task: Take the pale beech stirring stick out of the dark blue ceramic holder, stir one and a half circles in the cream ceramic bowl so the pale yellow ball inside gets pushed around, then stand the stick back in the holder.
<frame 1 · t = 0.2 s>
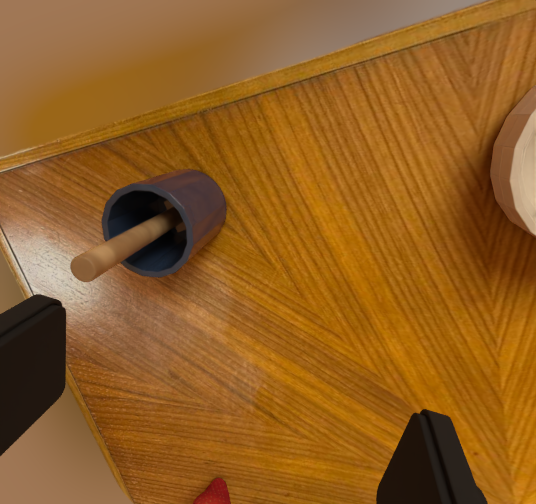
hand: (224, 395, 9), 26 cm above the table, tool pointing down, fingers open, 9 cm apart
stirring stick: (188, 208, 36), resting on holder
holder: (190, 207, 36), on the table
fruit: (222, 480, 48), on the table
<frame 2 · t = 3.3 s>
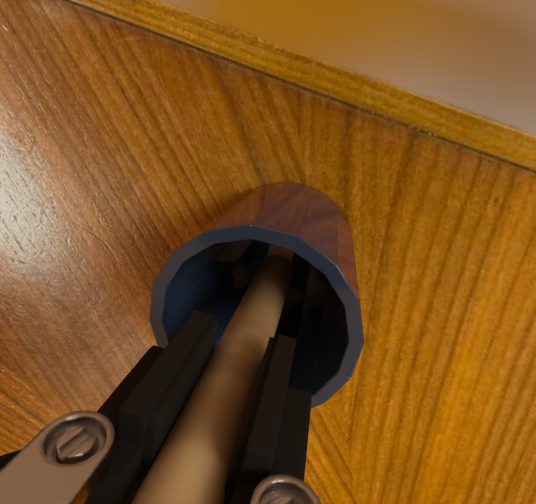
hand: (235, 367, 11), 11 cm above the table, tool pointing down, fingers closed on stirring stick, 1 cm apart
stirring stick: (284, 249, 20), point 1 cm above the table, touching gripper, holder
holder: (286, 246, 21), on the table
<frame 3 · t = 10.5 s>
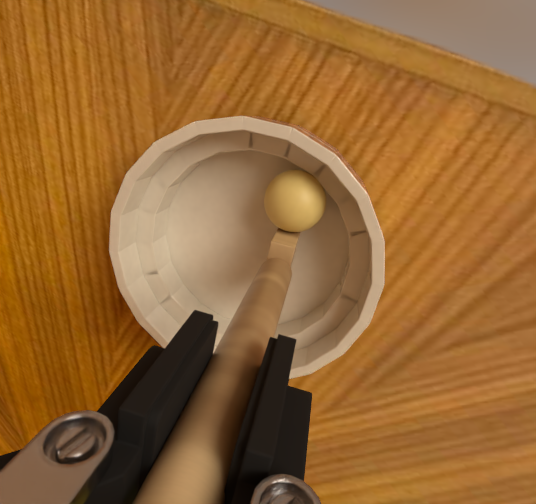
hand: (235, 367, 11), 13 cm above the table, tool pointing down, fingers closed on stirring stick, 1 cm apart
stirring stick: (284, 252, 20), point 2 cm above the table, touching ball, gripper
bowl: (256, 239, 23), on the table
ball: (294, 201, 19), point 2 cm above the table, tilted 67°, touching bowl, stirring stick
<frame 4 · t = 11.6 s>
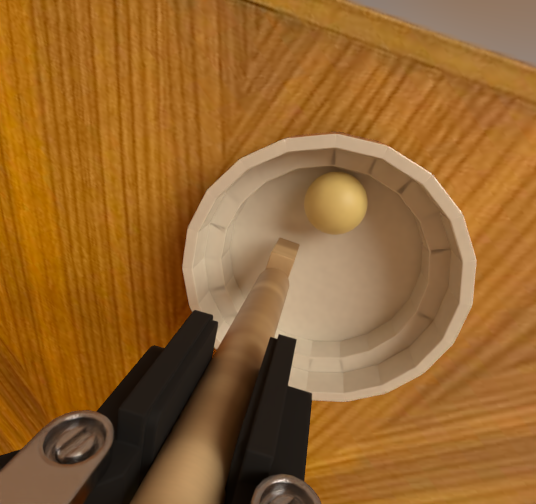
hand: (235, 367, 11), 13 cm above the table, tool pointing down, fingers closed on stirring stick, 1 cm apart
stirring stick: (281, 264, 21), point 2 cm above the table, touching gripper
bowl: (322, 254, 22), on the table
ball: (335, 203, 19), point 2 cm above the table, tilted 37°, touching bowl
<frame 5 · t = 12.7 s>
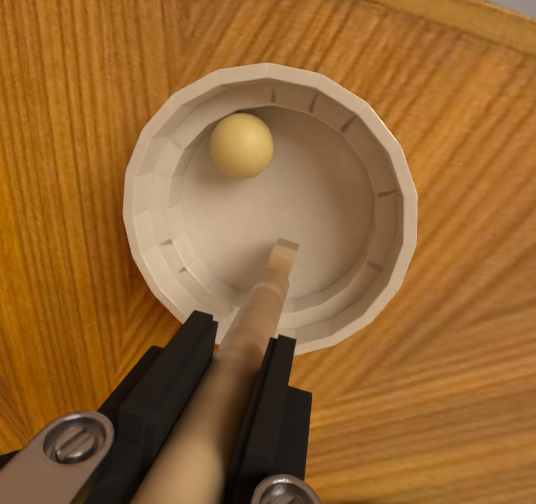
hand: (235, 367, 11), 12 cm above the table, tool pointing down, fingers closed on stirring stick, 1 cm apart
stirring stick: (281, 264, 21), point 2 cm above the table, touching gripper
bowl: (275, 208, 22), on the table
ball: (242, 146, 18), point 2 cm above the table, tilted 33°, touching bowl
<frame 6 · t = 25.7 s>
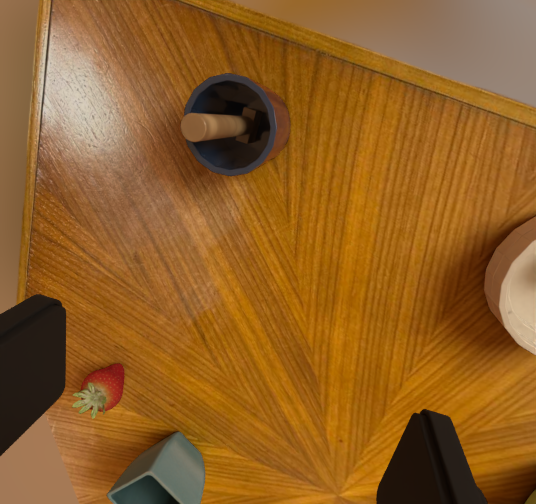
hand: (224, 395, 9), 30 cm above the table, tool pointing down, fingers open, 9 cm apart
stirring stick: (252, 125, 36), resting on holder
holder: (253, 125, 36), on the table
flower pot: (180, 446, 53), on the table
fruit: (122, 367, 50), on the table
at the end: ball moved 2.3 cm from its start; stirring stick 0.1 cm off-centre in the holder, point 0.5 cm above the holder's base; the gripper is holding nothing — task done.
